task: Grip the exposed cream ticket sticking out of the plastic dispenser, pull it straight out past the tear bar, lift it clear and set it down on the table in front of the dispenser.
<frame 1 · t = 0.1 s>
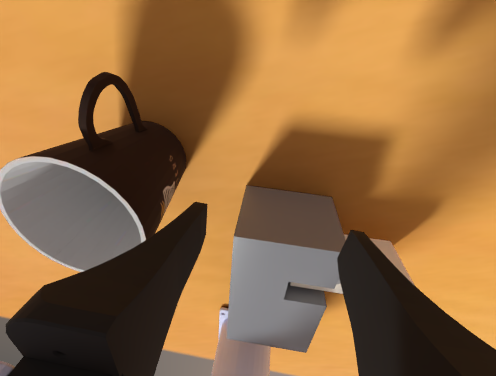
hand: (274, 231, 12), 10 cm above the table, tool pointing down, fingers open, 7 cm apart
ticket: (338, 238, 25), on the table
coffee mug: (162, 144, 22), on the table
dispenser: (277, 244, 26), on the table
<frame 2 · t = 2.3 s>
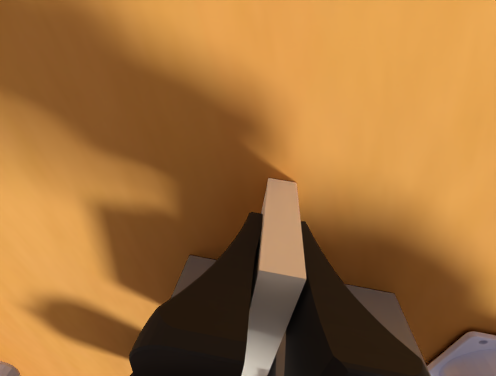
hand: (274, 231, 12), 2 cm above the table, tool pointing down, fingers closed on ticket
ticket: (266, 247, 15), on the table, touching gripper
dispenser: (278, 307, 18), on the table
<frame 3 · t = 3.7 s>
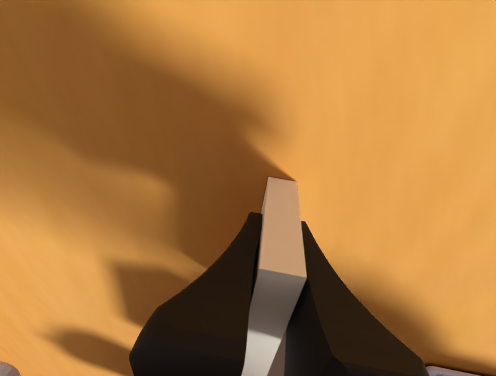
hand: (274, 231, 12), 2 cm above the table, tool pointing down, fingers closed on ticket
ticket: (266, 246, 15), on the table, touching gripper
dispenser: (266, 342, 21), on the table
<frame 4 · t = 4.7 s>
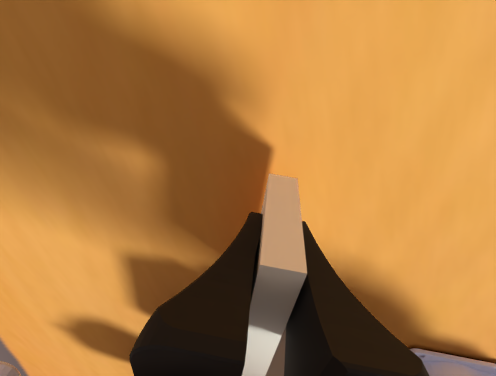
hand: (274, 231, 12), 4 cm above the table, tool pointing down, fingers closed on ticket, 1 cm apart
ticket: (266, 243, 15), point 2 cm above the table, touching gripper
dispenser: (265, 328, 23), on the table
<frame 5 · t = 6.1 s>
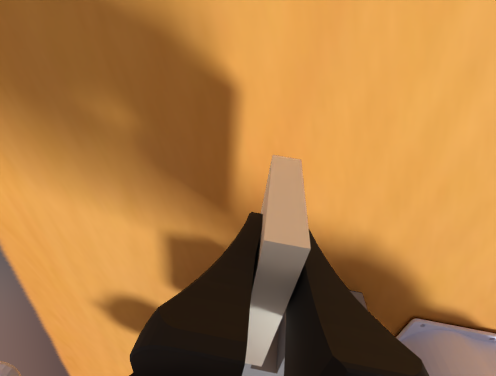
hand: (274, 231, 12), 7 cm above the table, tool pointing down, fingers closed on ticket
ticket: (269, 225, 15), point 4 cm above the table, touching gripper
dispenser: (284, 302, 26), on the table
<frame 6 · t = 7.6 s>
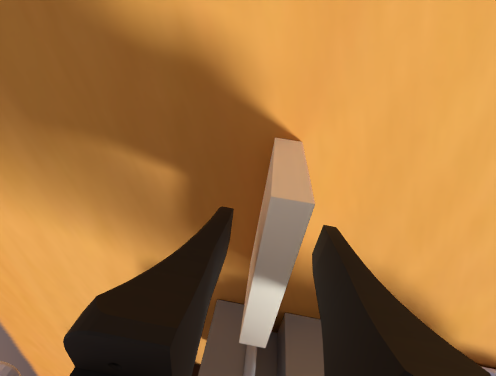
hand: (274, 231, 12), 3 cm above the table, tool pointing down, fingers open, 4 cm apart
ticket: (272, 210, 16), on the table
coffee mug: (186, 368, 30), on the table
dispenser: (285, 337, 23), on the table
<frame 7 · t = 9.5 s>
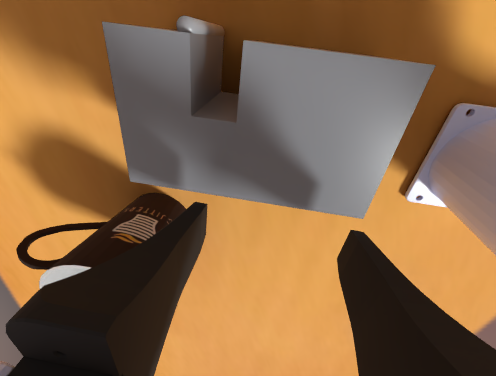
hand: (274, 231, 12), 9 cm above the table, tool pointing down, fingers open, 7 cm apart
coffee mug: (151, 208, 25), on the table
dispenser: (261, 104, 18), on the table
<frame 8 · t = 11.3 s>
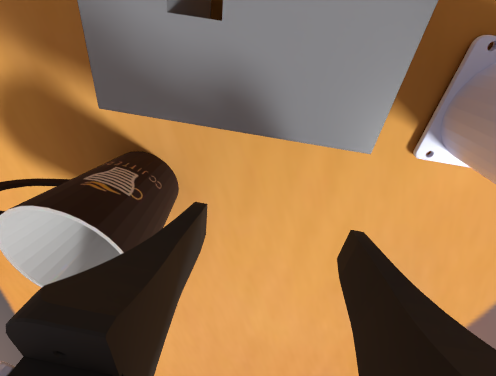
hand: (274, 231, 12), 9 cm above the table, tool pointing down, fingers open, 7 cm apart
coffee mug: (134, 170, 23), on the table
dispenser: (256, 39, 16), on the table
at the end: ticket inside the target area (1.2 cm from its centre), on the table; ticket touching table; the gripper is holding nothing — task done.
